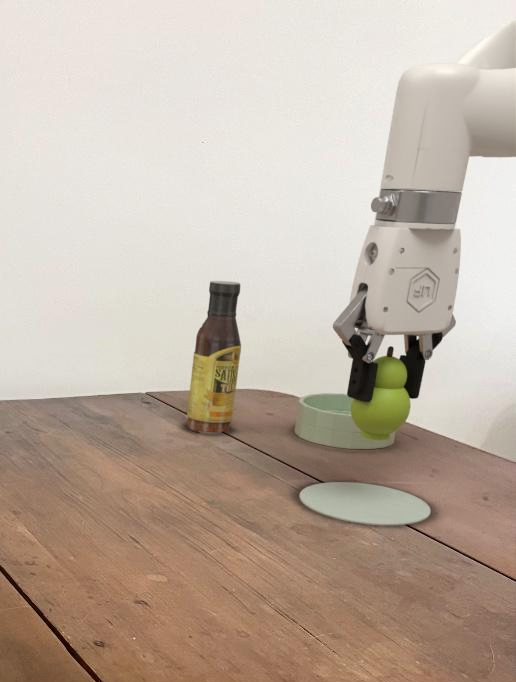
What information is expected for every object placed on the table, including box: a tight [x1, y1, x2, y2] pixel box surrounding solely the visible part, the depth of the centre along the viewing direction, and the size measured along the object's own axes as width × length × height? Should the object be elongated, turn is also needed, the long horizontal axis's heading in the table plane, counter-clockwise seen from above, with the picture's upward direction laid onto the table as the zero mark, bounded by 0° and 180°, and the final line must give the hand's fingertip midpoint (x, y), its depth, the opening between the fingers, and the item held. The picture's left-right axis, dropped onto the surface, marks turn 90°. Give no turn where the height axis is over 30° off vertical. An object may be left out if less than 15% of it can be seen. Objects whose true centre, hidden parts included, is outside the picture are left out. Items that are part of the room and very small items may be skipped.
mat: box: [299, 481, 432, 526], centre depth 102 cm, size 14×14×1 cm
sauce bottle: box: [186, 280, 242, 434], centre depth 125 cm, size 6×6×20 cm
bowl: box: [293, 392, 397, 450], centre depth 126 cm, size 13×13×5 cm
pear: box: [351, 345, 411, 440], centre depth 97 cm, size 6×6×10 cm
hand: (382, 395), depth 97 cm, fingers closed on pear, 5 cm apart
